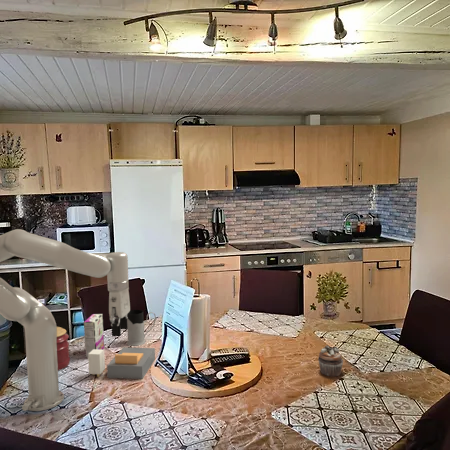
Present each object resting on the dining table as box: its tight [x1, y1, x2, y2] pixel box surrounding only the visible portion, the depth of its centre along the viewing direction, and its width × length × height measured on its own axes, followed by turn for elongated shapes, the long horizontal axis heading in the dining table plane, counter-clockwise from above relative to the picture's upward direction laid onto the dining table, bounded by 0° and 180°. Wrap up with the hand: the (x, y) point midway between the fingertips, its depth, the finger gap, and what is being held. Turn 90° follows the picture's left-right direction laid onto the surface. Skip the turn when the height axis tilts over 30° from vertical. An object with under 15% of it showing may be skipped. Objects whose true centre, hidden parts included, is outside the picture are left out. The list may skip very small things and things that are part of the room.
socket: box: [106, 346, 156, 380], centre depth 164 cm, size 18×14×5 cm
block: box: [87, 349, 106, 378], centre depth 158 cm, size 5×5×10 cm
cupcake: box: [318, 344, 344, 377], centre depth 158 cm, size 10×10×10 cm
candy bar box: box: [83, 313, 105, 359], centre depth 180 cm, size 11×5×16 cm, turn 179°
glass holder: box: [126, 309, 157, 347], centre depth 193 cm, size 9×14×15 cm, turn 115°
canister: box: [56, 326, 71, 371], centre depth 167 cm, size 13×13×18 cm
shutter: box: [114, 353, 143, 364], centre depth 161 cm, size 8×9×3 cm
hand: (119, 332), depth 150 cm, fingers open, 6 cm apart
